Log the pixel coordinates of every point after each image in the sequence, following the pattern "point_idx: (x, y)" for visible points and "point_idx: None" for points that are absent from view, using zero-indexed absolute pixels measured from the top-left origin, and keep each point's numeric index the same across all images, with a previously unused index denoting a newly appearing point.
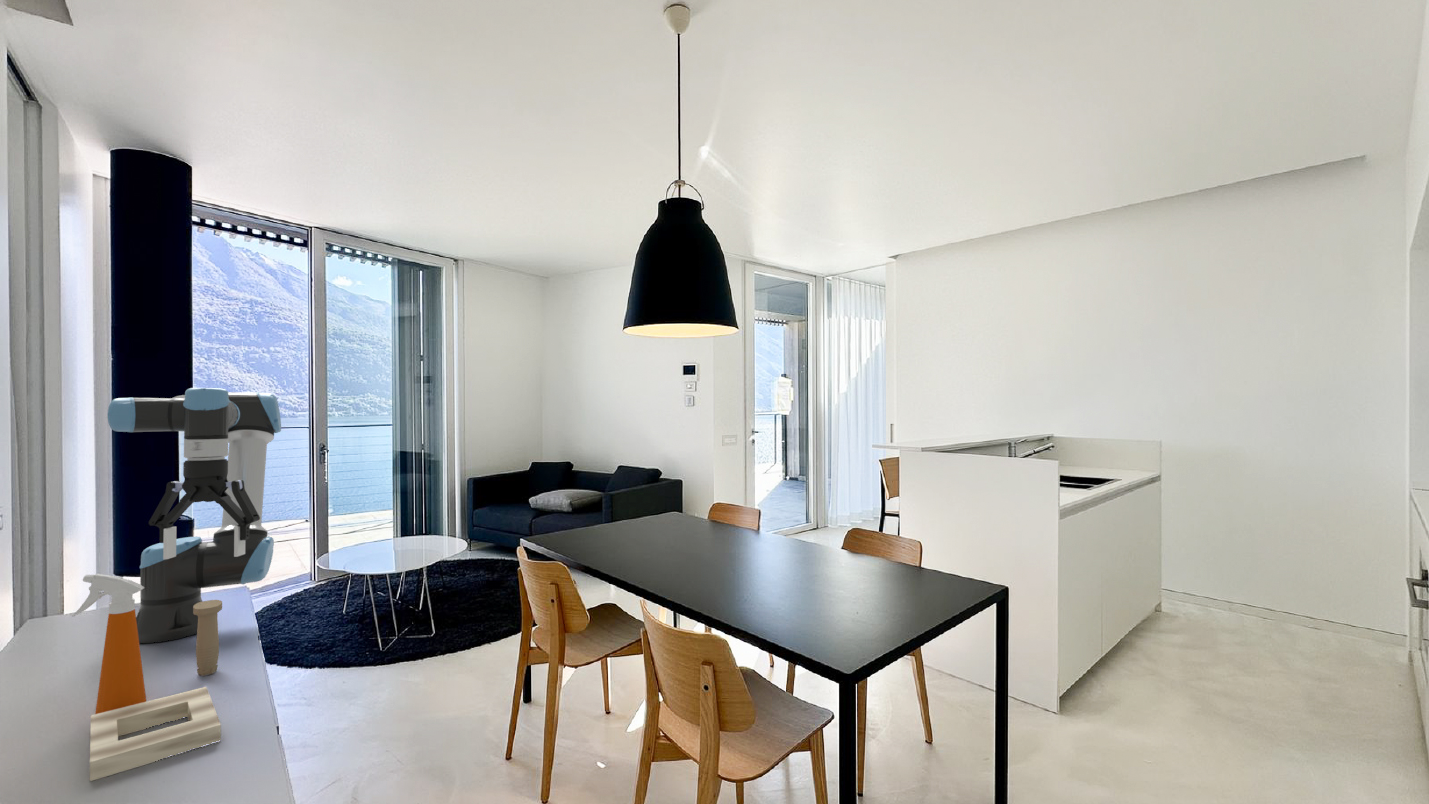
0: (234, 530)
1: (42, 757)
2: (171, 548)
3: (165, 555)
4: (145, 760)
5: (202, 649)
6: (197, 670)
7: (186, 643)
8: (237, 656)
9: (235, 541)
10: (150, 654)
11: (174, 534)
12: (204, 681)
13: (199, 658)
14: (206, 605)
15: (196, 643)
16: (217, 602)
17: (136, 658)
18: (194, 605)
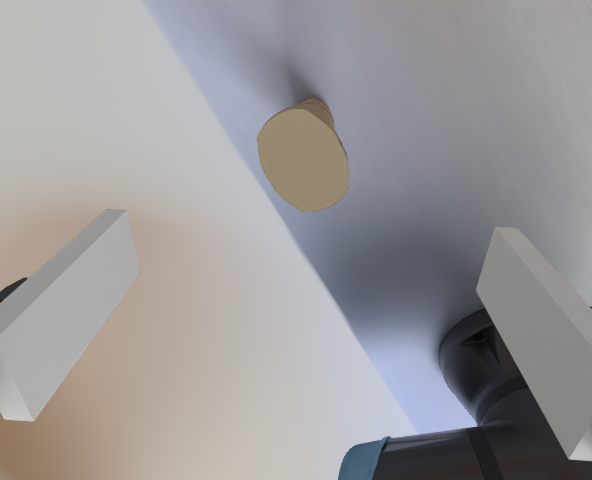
0: (20, 315)
1: None
2: (508, 292)
3: (515, 239)
4: None
5: (308, 103)
6: (327, 106)
7: (443, 291)
8: None
9: (66, 257)
10: None
11: (542, 384)
12: (293, 65)
13: (317, 101)
14: (301, 150)
15: (328, 117)
16: (283, 180)
17: None
18: (343, 157)
